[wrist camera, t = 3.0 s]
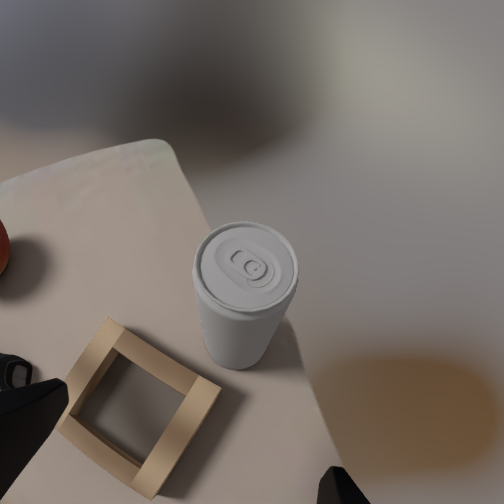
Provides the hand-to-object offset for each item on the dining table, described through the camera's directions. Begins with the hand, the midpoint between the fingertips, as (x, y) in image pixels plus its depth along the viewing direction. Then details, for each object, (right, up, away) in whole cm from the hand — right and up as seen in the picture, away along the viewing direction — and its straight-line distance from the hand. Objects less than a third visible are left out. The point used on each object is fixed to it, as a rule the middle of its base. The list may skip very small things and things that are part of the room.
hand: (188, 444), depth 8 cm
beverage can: (+1, -1, +16) cm, 16 cm away
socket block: (-7, -6, +11) cm, 15 cm away
